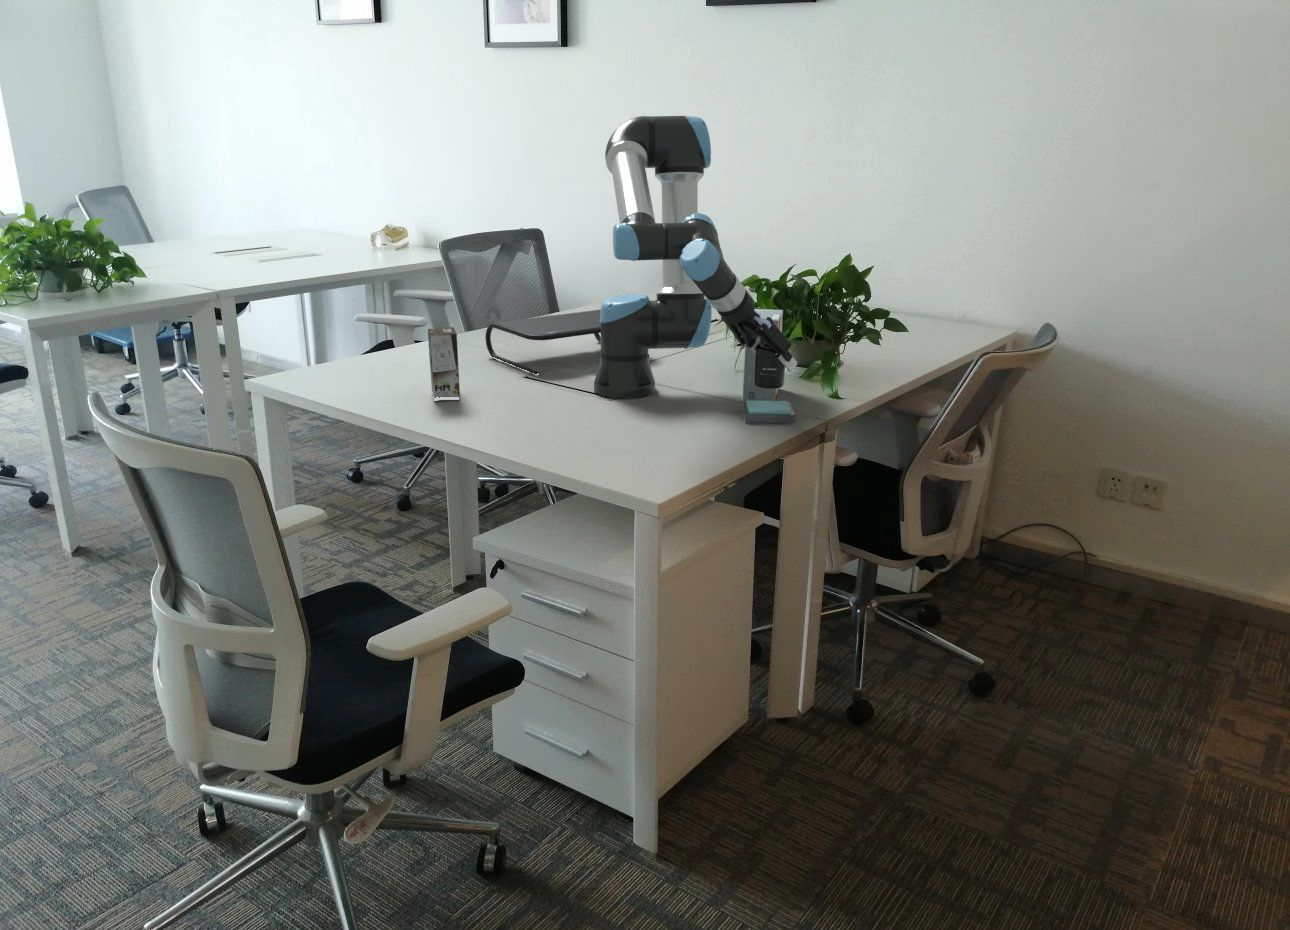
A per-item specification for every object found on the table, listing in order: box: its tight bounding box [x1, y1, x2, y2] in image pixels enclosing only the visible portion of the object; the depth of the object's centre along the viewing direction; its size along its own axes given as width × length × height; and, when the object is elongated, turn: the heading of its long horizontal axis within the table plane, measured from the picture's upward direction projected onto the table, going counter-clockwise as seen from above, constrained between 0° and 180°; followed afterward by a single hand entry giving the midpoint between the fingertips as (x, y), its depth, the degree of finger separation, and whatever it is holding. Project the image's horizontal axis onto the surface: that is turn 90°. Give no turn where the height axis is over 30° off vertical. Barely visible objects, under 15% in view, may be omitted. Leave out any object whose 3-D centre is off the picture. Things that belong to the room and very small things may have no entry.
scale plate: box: [745, 400, 791, 414], centre depth 232 cm, size 9×9×1 cm
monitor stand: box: [484, 309, 650, 374], centre depth 287 cm, size 37×28×11 cm
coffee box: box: [427, 326, 461, 399], centre depth 246 cm, size 9×6×16 cm
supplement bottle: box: [754, 332, 786, 389], centre depth 228 cm, size 7×7×12 cm
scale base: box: [741, 401, 796, 425], centre depth 232 cm, size 11×11×2 cm
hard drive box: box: [742, 308, 784, 402], centre depth 247 cm, size 16×8×20 cm, turn 168°
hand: (780, 364), depth 231 cm, fingers closed on supplement bottle, 7 cm apart
